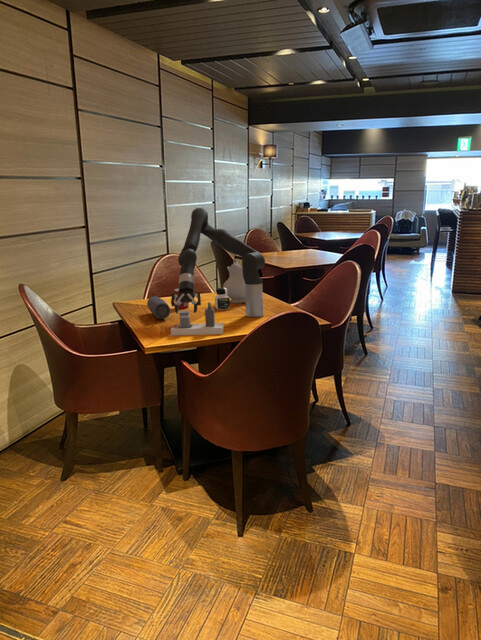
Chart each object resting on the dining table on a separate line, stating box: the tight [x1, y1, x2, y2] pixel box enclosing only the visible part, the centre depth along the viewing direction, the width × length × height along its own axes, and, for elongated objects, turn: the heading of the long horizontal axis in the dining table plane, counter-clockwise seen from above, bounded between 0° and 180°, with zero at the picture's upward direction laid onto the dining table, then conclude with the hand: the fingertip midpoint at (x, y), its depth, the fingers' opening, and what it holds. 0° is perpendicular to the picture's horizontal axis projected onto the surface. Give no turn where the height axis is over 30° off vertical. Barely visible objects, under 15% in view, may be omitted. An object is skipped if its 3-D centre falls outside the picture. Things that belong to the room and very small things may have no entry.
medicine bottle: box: [214, 287, 231, 311], centre depth 276 cm, size 7×7×12 cm
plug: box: [178, 310, 191, 328], centre depth 227 cm, size 4×4×10 cm
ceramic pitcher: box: [222, 259, 245, 304], centre depth 294 cm, size 22×20×25 cm
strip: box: [170, 302, 225, 337], centre depth 226 cm, size 24×9×14 cm, turn 89°
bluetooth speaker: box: [146, 295, 171, 320], centre depth 262 cm, size 23×9×10 cm, turn 21°
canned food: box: [174, 288, 190, 310], centre depth 282 cm, size 8×8×11 cm
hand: (185, 312), depth 231 cm, fingers open, 8 cm apart
